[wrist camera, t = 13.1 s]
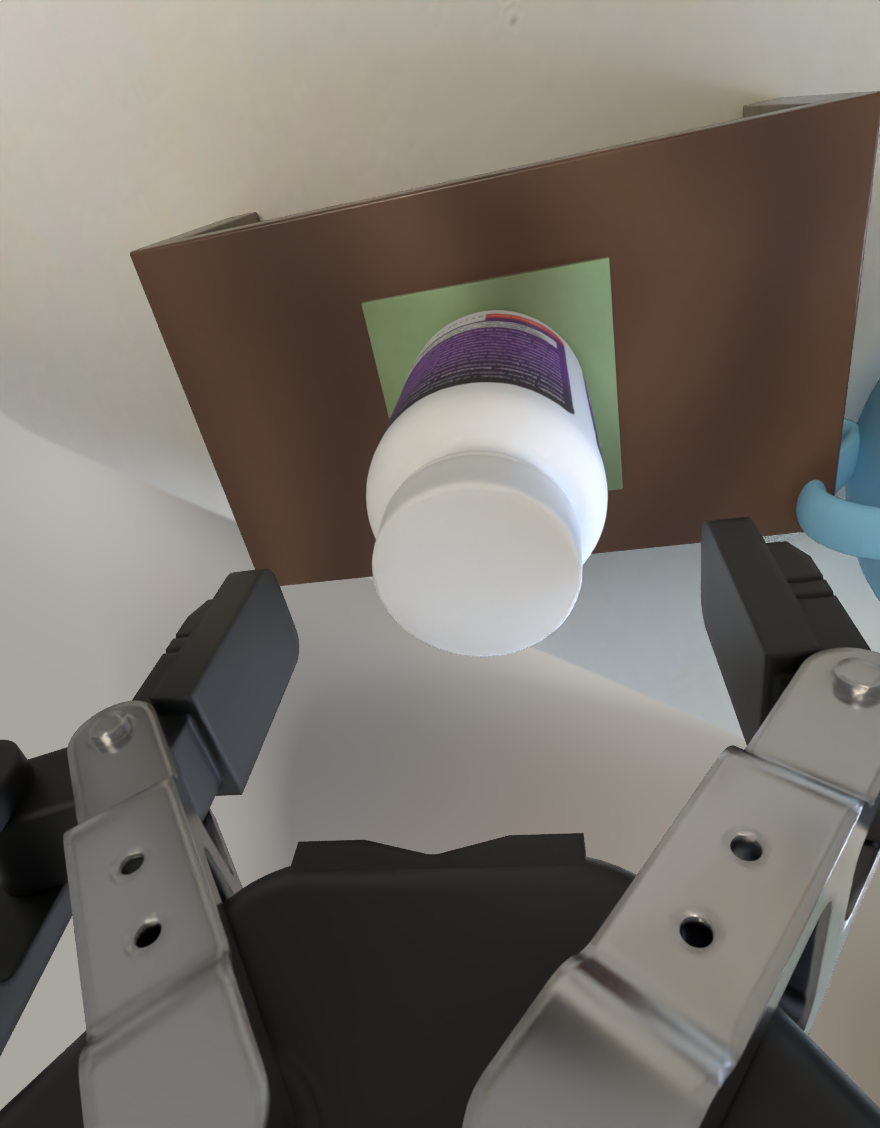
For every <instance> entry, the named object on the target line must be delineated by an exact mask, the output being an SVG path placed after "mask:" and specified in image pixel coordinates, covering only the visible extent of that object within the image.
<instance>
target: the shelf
mask: <svg viewBox="0 0 880 1128" xmlns="http://www.w3.org/2000/svg"><path fill="white" fill-rule="evenodd" d="M879 127H880V91H879V92H863V93H862V92H859V93H844V94H828V95H813V96H798V97H782V98H776V99H772V100H767V101H762V102H758V103H753V104H749V105H745V106H744V107H743V118H741V119H737V120H732V121H727V122H723V123H718V124H713V125H709V126H704V127H699V128H695V129H690V130H685V131H681V132H676V133H671V134H667V135H662V136H658V137H653V138H648V139H644V140H639V141H634V142H630V143H625V144H620V145H616V146H611V147H606V148H602V149H597V150H592V151H588V152H583V153H578V154H574V155H569V156H564V157H560V158H555V159H550V160H546V161H541V162H536V163H532V164H527V165H522V166H518V167H513V168H508V169H504V170H499V171H494V172H490V173H485V174H480V175H476V176H471V177H467V178H462V179H457V180H453V181H448V182H443V183H439V184H434V185H429V186H425V187H420V188H415V189H411V190H406V191H401V192H397V193H392V194H387V195H383V196H378V197H373V198H369V199H364V200H359V201H355V202H350V203H345V204H341V205H336V206H331V207H327V208H322V209H317V210H313V211H308V212H303V213H299V214H294V215H289V216H285V217H280V218H276V219H271V220H266V221H262V222H259V220H258V217H257V214H256V212H253V213H249V214H244V215H239V216H235V217H230V218H227V219H224V220H221V221H218V222H215V223H212V224H209V225H207V226H204V227H201V228H198V229H195V230H192V231H189V232H186V233H183V234H181V235H178V236H175V237H172V238H169V239H166V240H163V241H160V242H157V243H154V244H152V245H149V246H146V247H143V248H140V249H138V250H135V251H132V252H131V253H130V256H131V259H132V261H133V264H134V266H135V269H136V271H137V274H138V276H139V279H140V281H141V284H142V286H143V289H144V291H145V294H146V296H147V299H148V302H149V304H150V307H151V309H152V312H153V314H154V317H155V319H156V322H157V324H158V327H159V329H160V332H161V334H162V337H163V339H164V342H165V344H166V347H167V349H168V352H169V354H170V357H171V359H172V362H173V364H174V367H175V369H176V372H177V374H178V377H179V379H180V382H181V384H182V387H183V389H184V392H185V394H186V397H187V399H188V402H189V404H190V407H191V409H192V412H193V414H194V417H195V419H196V422H197V424H198V427H199V430H200V432H201V435H202V437H203V440H204V442H205V445H206V447H207V450H208V452H209V455H210V457H211V460H212V462H213V465H214V467H215V470H216V472H217V475H218V477H219V480H220V482H221V485H222V487H223V490H224V492H225V495H226V497H227V500H228V502H229V505H230V507H231V510H232V512H233V515H234V517H235V520H236V522H237V525H238V527H239V530H240V532H241V535H242V537H243V540H244V542H245V545H246V547H247V550H248V552H249V555H250V558H251V560H252V563H253V565H254V567H255V570H259V569H270V570H271V571H272V572H273V573H274V574H275V576H276V578H277V580H278V583H279V586H284V585H294V584H302V583H312V582H323V581H331V580H342V579H352V578H362V577H371V576H373V572H372V557H373V551H374V545H375V542H376V539H375V536H374V534H373V531H372V528H371V525H370V522H369V517H368V512H367V504H366V486H367V478H368V473H369V469H370V465H371V462H372V459H373V456H374V453H375V451H376V448H377V446H378V444H379V441H380V439H381V437H382V435H383V433H384V430H385V428H386V426H387V424H388V422H389V419H390V417H391V415H392V413H393V410H394V408H395V406H396V404H397V401H398V399H399V397H400V394H401V392H402V389H403V387H404V385H405V382H406V380H407V377H408V375H409V372H410V370H411V368H412V366H413V364H414V362H415V360H416V358H417V357H418V355H419V353H420V352H421V350H422V349H423V347H424V346H425V345H426V344H427V343H428V341H429V340H430V339H431V338H432V337H433V336H434V335H435V334H436V333H437V332H439V331H440V330H441V329H442V328H444V327H445V326H447V325H448V324H450V323H452V322H453V321H455V320H457V319H459V318H461V317H464V316H467V315H470V314H473V313H477V312H482V311H490V310H503V311H512V312H517V313H521V314H524V315H527V316H530V317H532V318H535V319H537V320H539V321H541V322H542V323H544V324H545V325H547V326H549V327H550V328H551V329H553V330H554V331H555V332H556V333H557V334H559V335H560V336H561V337H562V338H563V339H564V341H565V342H566V343H567V344H568V345H569V347H570V348H571V349H572V351H573V353H574V354H575V356H576V358H577V360H578V362H579V364H580V367H581V369H582V372H583V375H584V378H585V381H586V384H587V390H588V394H589V398H590V403H591V408H592V412H593V417H594V421H595V425H596V430H597V435H598V440H599V443H600V448H601V453H602V457H603V461H604V466H605V473H606V481H607V490H608V502H607V513H606V519H605V523H604V527H603V530H602V533H601V536H600V538H599V540H598V542H597V544H596V546H595V548H594V550H593V551H592V553H591V554H594V553H603V552H613V551H623V550H633V549H642V548H652V547H662V546H671V545H681V544H691V543H700V542H701V536H702V525H703V522H704V521H711V520H720V519H729V518H738V517H747V516H749V517H751V518H752V520H753V521H754V523H755V525H756V527H757V529H758V530H759V532H760V534H761V536H768V535H778V534H787V533H797V532H804V531H803V529H802V528H801V526H800V524H799V522H798V519H797V514H796V507H797V501H798V497H799V495H800V493H801V491H802V489H803V488H804V486H805V485H806V484H807V483H808V482H810V481H812V480H819V481H821V482H822V483H823V484H824V486H825V488H826V492H828V493H829V494H831V495H832V496H835V488H836V480H837V472H838V464H839V455H840V447H841V439H842V431H843V423H844V414H845V406H846V398H847V390H848V382H849V373H850V365H851V357H852V349H853V341H854V332H855V324H856V316H857V308H858V300H859V291H860V283H861V275H862V267H863V259H864V250H865V242H866V234H867V226H868V218H869V209H870V201H871V193H872V185H873V177H874V168H875V160H876V152H877V144H878V136H879Z"/></svg>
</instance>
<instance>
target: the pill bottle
mask: <svg viewBox="0 0 880 1128" xmlns="http://www.w3.org/2000/svg"><path fill="white" fill-rule="evenodd" d="M607 502H608V490H607V481H606V473H605V466H604V461H603V457H602V453H601V448H600V443H599V440H598V435H597V430H596V425H595V421H594V417H593V412H592V408H591V403H590V398H589V394H588V390H587V384H586V381H585V378H584V375H583V372H582V369H581V367H580V364H579V362H578V360H577V358H576V356H575V354H574V353H573V351H572V349H571V348H570V347H569V345H568V344H567V343H566V342H565V341H564V339H563V338H562V337H561V336H560V335H559V334H557V333H556V332H555V331H554V330H553V329H551V328H550V327H549V326H547V325H545V324H544V323H542V322H541V321H539V320H537V319H535V318H532V317H530V316H527V315H524V314H521V313H517V312H512V311H503V310H490V311H482V312H477V313H473V314H470V315H467V316H464V317H461V318H459V319H457V320H455V321H453V322H452V323H450V324H448V325H447V326H445V327H444V328H442V329H441V330H440V331H439V332H437V333H436V334H435V335H434V336H433V337H432V338H431V339H430V340H429V341H428V343H427V344H426V345H425V346H424V347H423V349H422V350H421V352H420V353H419V355H418V357H417V358H416V360H415V362H414V364H413V366H412V368H411V370H410V372H409V375H408V377H407V380H406V382H405V385H404V387H403V389H402V392H401V394H400V397H399V399H398V401H397V404H396V406H395V408H394V410H393V413H392V415H391V417H390V419H389V422H388V424H387V426H386V428H385V430H384V433H383V435H382V437H381V439H380V441H379V444H378V446H377V448H376V451H375V453H374V456H373V459H372V462H371V465H370V469H369V473H368V478H367V486H366V504H367V512H368V517H369V522H370V525H371V528H372V531H373V534H374V536H375V539H376V542H375V545H374V551H373V557H372V572H373V580H374V584H375V588H376V590H377V593H378V594H379V597H380V600H381V602H382V603H383V605H384V606H385V608H386V610H387V611H388V612H389V614H390V615H391V617H392V618H393V619H394V620H395V621H396V622H397V623H398V624H399V625H400V626H401V627H402V628H403V629H404V630H406V631H407V632H408V633H409V634H411V635H412V636H414V637H415V638H417V639H419V640H420V641H422V642H424V643H426V644H428V645H430V646H432V647H435V648H437V649H440V650H443V651H447V652H450V653H454V654H459V655H465V656H477V657H487V656H498V655H505V654H509V653H513V652H517V651H520V650H522V649H525V648H528V647H530V646H532V645H534V644H536V643H538V642H539V641H541V640H543V639H544V638H546V637H547V636H549V635H550V634H552V633H553V632H554V631H555V630H556V629H557V628H558V627H559V626H560V625H561V624H562V623H563V622H564V621H565V619H566V618H567V617H568V616H569V614H570V612H571V611H572V609H573V607H574V605H575V603H576V600H577V598H578V595H579V592H580V588H581V585H582V574H583V573H582V565H583V564H584V563H585V562H586V561H587V559H588V558H589V556H590V554H591V553H592V551H593V550H594V548H595V546H596V544H597V542H598V540H599V538H600V536H601V533H602V530H603V527H604V523H605V519H606V513H607Z"/></svg>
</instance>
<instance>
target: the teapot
mask: <svg viewBox="0 0 880 1128" xmlns="http://www.w3.org/2000/svg"><path fill="white" fill-rule="evenodd" d="M845 484H846V500H843V499H840V498H837V497H835V496H832V495H831V494H829V493H828V492H826V488H825V486H824V484H823V483H822V482H821V481H819V480H812V481H810V482H808V483H807V484H806V485H805V486H804V488H803V489H802V491H801V493H800V495H799V497H798V501H797V507H796V514H797V519H798V522H799V524H800V526H801V528H802V529H803V531H804V532H805V533H806V534H807V535H808V536H809V537H810V538H811V539H813V540H814V541H816V542H817V543H819V544H821V545H823V546H825V547H827V548H830V549H832V550H835V551H838V552H841V553H844V554H848V555H852V556H856V557H858V560H859V563H860V566H861V569H862V571H863V573H864V575H865V578H866V580H867V582H868V583H869V585H870V587H871V588H872V590H873V592H874V593H875V595H876V597H877V598H878V600H879V601H880V379H879V380H878V382H877V384H876V385H875V387H874V389H873V390H872V392H871V394H870V396H869V398H868V400H867V402H866V405H865V407H864V409H863V411H862V413H861V415H860V417H859V420H858V424H857V423H855V422H853V421H851V420H847V419H844V423H843V431H842V439H841V447H840V455H839V464H838V472H837V480H836V488H835V493H836V492H837V491H838V490H839V489H840V488H841V487H842V486H843V485H845Z"/></svg>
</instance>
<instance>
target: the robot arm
mask: <svg viewBox="0 0 880 1128" xmlns="http://www.w3.org/2000/svg"><path fill="white" fill-rule="evenodd" d="M701 604H702V613H703V619H704V623H705V627H706V631H707V633H708V636H709V639H710V642H711V645H712V648H713V650H714V653H715V656H716V659H717V662H718V665H719V667H720V670H721V673H722V676H723V679H724V682H725V685H726V687H727V690H728V693H729V696H730V699H731V702H732V704H733V707H734V710H735V713H736V716H737V719H738V721H739V724H740V727H741V730H742V733H743V736H744V738H745V741H746V744H747V747H746V748H745V749H744V750H743V749H741V748H738V747H736V746H729V747H727V748H726V749H725V750H724V751H723V752H722V753H721V755H720V756H719V757H718V758H717V760H716V762H715V763H714V764H713V766H712V767H711V769H710V770H709V771H708V773H707V774H706V776H705V777H704V779H703V780H702V782H701V783H700V785H699V786H698V787H697V789H696V790H695V792H694V793H693V795H692V796H691V798H690V799H689V800H688V802H687V803H686V805H685V806H684V808H683V809H682V810H681V812H680V813H679V815H678V816H677V818H676V819H675V821H674V822H673V824H672V825H671V826H670V828H669V829H668V831H667V832H666V834H665V835H664V836H663V838H662V839H661V841H660V842H659V844H658V845H657V847H656V848H655V849H654V851H653V852H652V854H651V855H650V857H649V858H648V860H647V861H646V862H645V864H644V865H643V867H642V868H641V870H640V871H639V873H638V874H637V875H636V874H634V873H632V872H630V871H627V870H625V869H623V868H621V867H619V866H616V865H613V864H610V863H607V862H604V861H602V860H597V859H593V858H589V857H586V850H585V843H584V834H583V833H575V834H574V833H573V834H540V835H509V836H505V837H501V838H497V839H494V840H490V841H486V842H482V843H478V844H475V845H471V846H467V847H463V848H460V849H456V850H452V851H448V852H444V853H441V854H424V853H420V852H416V851H411V850H406V849H402V848H398V847H394V846H389V845H384V844H380V843H376V842H372V841H367V840H341V841H309V842H298V845H297V848H296V852H295V855H294V858H293V861H292V864H291V866H289V867H286V868H283V869H280V870H278V871H275V872H273V873H270V874H268V875H266V876H264V877H262V878H260V879H258V880H256V881H254V882H252V883H251V884H249V885H248V886H246V887H244V888H243V887H242V885H241V882H240V880H239V877H238V875H237V872H236V870H235V867H234V865H233V862H232V859H231V857H230V854H229V852H228V849H227V847H226V844H225V842H224V839H223V836H222V834H221V831H220V829H219V826H218V823H217V821H216V818H215V817H214V815H213V813H212V811H211V809H210V806H211V804H212V802H213V800H214V797H215V796H221V795H242V793H243V791H244V788H245V786H246V783H247V781H248V779H249V776H250V774H251V772H252V769H253V767H254V764H255V762H256V760H257V757H258V755H259V752H260V750H261V747H262V745H263V742H264V740H265V738H266V735H267V733H268V731H269V728H270V726H271V723H272V721H273V719H274V716H275V714H276V711H277V709H278V706H279V704H280V702H281V699H282V697H283V694H284V692H285V690H286V687H287V685H288V683H289V680H290V678H291V675H292V673H293V671H294V668H295V665H296V663H297V660H298V655H299V639H298V634H297V630H296V628H295V625H294V622H293V620H292V617H291V614H290V612H289V610H288V607H287V604H286V601H285V599H284V596H283V593H282V591H281V588H280V586H279V583H278V580H277V578H276V576H275V574H274V573H273V572H272V571H271V570H270V569H259V570H250V571H242V572H233V573H230V574H229V575H228V576H227V578H226V579H225V581H224V582H223V584H222V585H221V587H220V589H219V590H218V592H217V593H216V595H215V596H214V598H213V599H212V600H208V601H206V602H205V603H204V604H203V605H202V606H200V607H199V608H198V609H197V610H196V611H194V612H193V613H192V614H191V615H190V616H188V618H187V619H186V621H185V622H184V623H183V625H182V626H181V628H180V630H179V631H178V633H177V634H176V639H173V640H172V641H171V643H170V645H169V646H168V647H167V649H166V654H163V655H162V656H161V658H160V659H159V661H158V662H157V664H156V665H155V667H154V668H153V670H152V671H151V673H150V674H149V676H148V677H147V679H146V680H145V682H144V683H143V685H142V686H141V688H140V689H139V691H138V692H137V694H136V695H135V697H134V698H133V700H132V701H127V702H122V703H119V704H116V705H113V706H111V707H108V708H106V709H104V710H102V711H100V712H99V713H97V714H96V715H94V716H92V717H91V718H90V719H89V720H87V721H86V722H85V723H84V724H83V725H82V726H80V727H79V729H78V730H77V731H76V732H75V733H74V735H73V736H72V738H71V740H70V742H69V744H68V747H67V748H64V749H61V750H57V751H54V752H51V753H48V754H44V755H41V756H38V757H35V758H32V759H28V760H27V758H26V757H25V756H24V754H23V753H22V751H21V750H20V749H19V748H18V746H17V745H16V744H15V743H14V742H12V741H9V740H0V1056H1V1054H2V1052H3V1050H4V1048H5V1046H6V1044H7V1042H8V1040H9V1038H10V1036H11V1034H12V1032H13V1030H14V1028H15V1026H16V1024H17V1023H18V1021H19V1019H20V1016H21V1015H22V1012H23V1011H24V1009H25V1007H26V1005H27V1003H28V1001H29V999H30V997H31V995H32V993H33V991H34V989H35V987H36V985H37V983H38V981H39V979H40V977H41V975H42V974H43V972H44V970H45V968H46V966H47V964H48V962H49V960H50V958H51V956H52V954H53V952H54V950H55V948H56V946H57V944H58V942H59V940H60V938H61V936H62V934H63V932H64V930H65V928H66V926H67V924H68V922H69V921H70V919H71V917H72V916H73V925H74V933H75V941H76V949H77V957H78V965H79V973H80V982H81V990H82V998H83V1005H84V1013H85V1022H86V1031H85V1032H84V1033H83V1034H82V1035H81V1036H80V1037H79V1038H78V1039H77V1040H75V1041H74V1043H72V1044H71V1045H70V1046H69V1047H68V1048H67V1049H66V1050H65V1051H64V1052H63V1053H61V1054H60V1055H59V1056H58V1057H57V1058H56V1059H55V1060H54V1061H53V1062H52V1063H51V1064H50V1065H49V1066H48V1067H46V1068H45V1069H44V1070H43V1071H42V1072H41V1073H40V1074H39V1075H38V1076H37V1077H36V1078H35V1079H34V1080H33V1081H32V1082H31V1083H29V1084H28V1085H27V1086H26V1087H25V1088H24V1089H23V1090H22V1091H21V1092H20V1093H19V1094H18V1095H17V1096H15V1097H14V1098H13V1099H12V1100H11V1101H10V1102H9V1103H8V1104H7V1105H6V1106H5V1107H4V1108H3V1109H2V1110H1V1111H0V1128H880V1108H879V1107H878V1106H877V1105H876V1104H875V1103H874V1102H873V1101H872V1100H871V1099H870V1098H869V1097H868V1096H867V1095H866V1094H865V1093H864V1092H863V1091H862V1090H861V1089H860V1088H859V1087H858V1086H857V1085H856V1084H855V1083H854V1082H853V1081H852V1080H851V1079H850V1078H849V1077H848V1075H847V1074H845V1073H844V1072H843V1070H841V1069H840V1067H839V1066H838V1065H836V1063H835V1062H833V1060H832V1059H831V1058H830V1057H829V1056H828V1055H827V1054H826V1053H825V1052H824V1051H823V1050H822V1049H821V1048H820V1047H819V1046H818V1045H817V1044H816V1043H815V1042H814V1041H813V1040H812V1039H811V1038H810V1037H809V1033H810V1031H811V1029H812V1026H813V1024H814V1022H815V1020H816V1017H817V1015H818V1013H819V1010H820V1008H821V1005H822V1003H823V1000H824V998H825V995H826V992H827V990H828V987H829V984H830V981H831V978H832V975H833V972H834V969H835V966H836V962H837V959H838V957H839V954H840V951H841V948H842V946H843V943H844V941H845V939H846V936H847V934H848V932H849V929H850V927H851V925H852V922H853V920H854V918H855V915H856V913H857V911H858V909H859V907H860V904H861V902H862V900H863V897H864V895H865V893H866V891H867V888H868V886H869V884H870V881H871V879H872V877H873V874H874V872H875V870H876V868H877V865H878V863H879V861H880V653H878V652H874V651H871V649H870V648H869V646H868V645H867V643H866V642H865V640H864V639H863V637H862V635H861V634H860V632H859V631H858V629H857V628H856V626H855V625H854V623H853V622H852V620H851V618H850V617H849V615H848V614H847V612H846V611H845V609H844V608H843V606H842V604H841V603H840V601H839V600H838V598H837V597H836V596H834V595H833V591H832V589H831V587H830V586H829V584H828V583H827V581H826V580H823V575H822V574H821V572H820V570H819V569H818V567H817V566H816V564H815V563H814V561H813V560H812V558H811V557H810V556H809V555H807V554H806V553H804V552H803V551H801V550H799V549H798V548H796V547H795V546H793V545H791V544H790V543H788V542H787V541H784V542H774V543H765V541H764V539H763V537H762V536H761V534H760V532H759V530H758V529H757V527H756V525H755V523H754V521H753V520H752V518H751V517H749V516H747V517H738V518H729V519H720V520H711V521H704V522H703V525H702V536H701Z"/></svg>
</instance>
